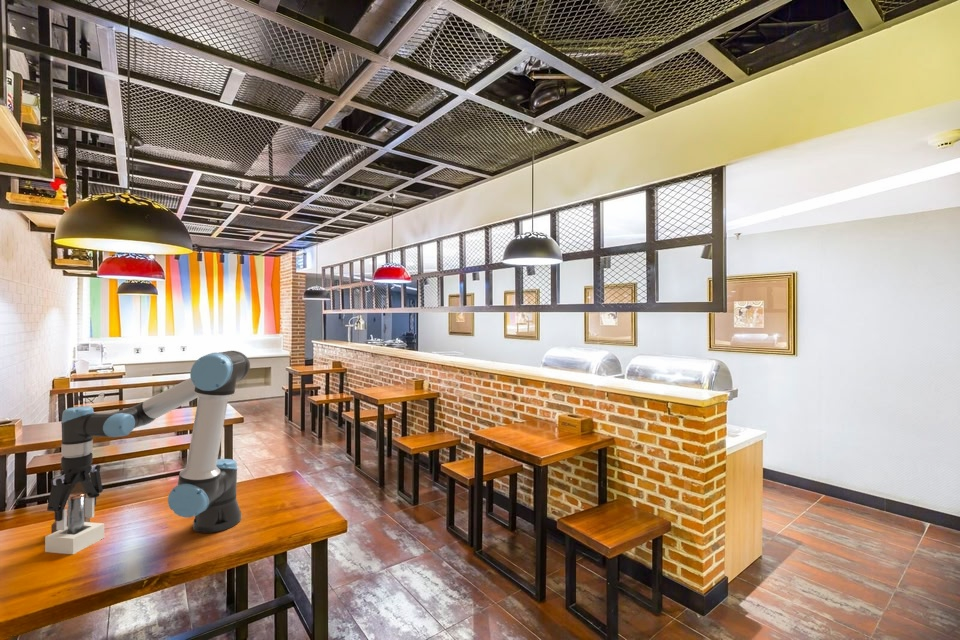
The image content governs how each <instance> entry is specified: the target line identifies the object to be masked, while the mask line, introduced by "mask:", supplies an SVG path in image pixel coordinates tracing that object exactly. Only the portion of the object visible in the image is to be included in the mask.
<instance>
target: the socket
mask: <svg viewBox="0 0 960 640" xmlns="http://www.w3.org/2000/svg"><path fill="white" fill-rule="evenodd" d="M67 527H68V526H67ZM103 538H104V539H105V523H104V522H103V523H101V522H91V521H90V522H84V530H83V531H81V532H79V533H77V534H75V535H72V534H67V529H66V530H58V531H56V532H54V533H52V534H51V533H50V534H48V535H45V537H44V541H45V542H44V553H51V554H61V555H75V554H77V553H78V552H81V551H82V550H84V549H86V548H88V547H90V546H92V545H94V544H96V543H97V542H99V541H101V539H102V540H104V539H103Z"/></svg>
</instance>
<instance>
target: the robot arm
mask: <svg viewBox="0 0 960 640" xmlns="http://www.w3.org/2000/svg"><path fill="white" fill-rule="evenodd" d="M250 370H251V363H250V360H249V359H248V357H247V356H246V354H244V353H243V352H241V351H237V350H227V351H226V350H225V351H221V352H212V353H208V354H206V355H203V356H200V357H199V358H198V359H197V360H196V361H195V362H193V364H192V366H191V368H190V373H189V374H190V377H189V378H188V379H185V380H183V381H181V382H180V383H177V384H176V385H173V386H171V387H170V388H168V389H166V390H163V391H162V392H160V393H157V394H155V395H154V396H152V397H150V398H148V399H146V400H144V401H142V402H140V403H138V404H135V405H134V406H131V407H129V408H124V409H121V410H117V411H114V412H108V413H96V412H95V411H94V407H93V406H89V405H84V406H83V405H82V406H73V407H68V408H66V409H65V410H63V411H62V416H61V422H60V423H61V451H60V452H61V456H62V457H61V459H60V468H61V470H62V472H61V474H60V476H58V477H55V478H51V479H50V483H51V488H50V493H49V497H48V503H47V506H46V507H47V508H46V511H48V512H54V522H55V521H57V529H56V530H66V529H67V516H68V508H66V505H67V504H68V498H69V496H70V493H71V491H72V488H74V487H75V485H76V484H77V483H78V482H81V484H82V486H83V488H84V490H85V491H86V493H87V495H88V496H89V497H86V498H85V517H90V519H91V518H94V517H95V506H96V505H97V498H99V497H100V494H101V493H102V492H103V491H104V489H103V483H102V479H101V473H100V471H101V465H99V464H93V449H94V445H93V444H94V437H95V438H97V437H98V438H101V437H102V438H118V437H126V436H128V435H129V434H131V433H132V432H133V431H134V429H136V428H139V427H142V426H146V425H149V424H151V423H153V422H154V421H155V420H156V419H158V418H160V417H162V416H163V415H166V414H167V413H169V412H172V411H174V410H176V409H177V408H180V407H181V406H184V405H185V404H188V403H190V402H191V401H193V400H195V399H197V398H198V400H197V403H196V404H197V406H196V411H195V416H194V421H193V428H192V433H191V438H190V443H189V450H188V455H187V459H186V460H187V461H186V465H185V467H184V468H183V469H181V470H180V472H179V475H178V481H177V485H176V486H175V487H173V488H171V491H170V492H169V494H168V496H167V504H168V507H169V509H170V510H171V511H172V512H173V513H174V514H175V516H176V515H177V516H178V517H182V518H192V517H193V518H194V519H193V522H192V529H193V531H194V532H196V533H199V534H211V533H217V532H218V533H219V532H221V531H224V530H227V529H231V528H232V527H234V526H236V525H238V524H239V523H240V522H241V520H242V511H241V509H240V505H239V502H238V501H237V488H238V487H237V483H238V482H237V481H238V478H237V476H238V465H237V461H236V460H234V459H231V458H219V452H220V448H221V441H222V435H223V429H224V424H225V419H226V414H227V407H228V402H229V398H231V396H233V395H234V394H235V393H236V392H235V391H236V385H237V383H239V382H241V381H242V380H243V379H245V378H246V377H247V376H248V374H249V373H250Z"/></svg>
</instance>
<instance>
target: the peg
mask: <svg viewBox="0 0 960 640" xmlns="http://www.w3.org/2000/svg"><path fill="white" fill-rule="evenodd" d="M84 507H85V493H84V492H79V493H74V494H71V495H70V496H69V498H68V500H67V516H68V527H67V534H72V535H75V534H77V533H79V532H81V531H83V530H84Z"/></svg>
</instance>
